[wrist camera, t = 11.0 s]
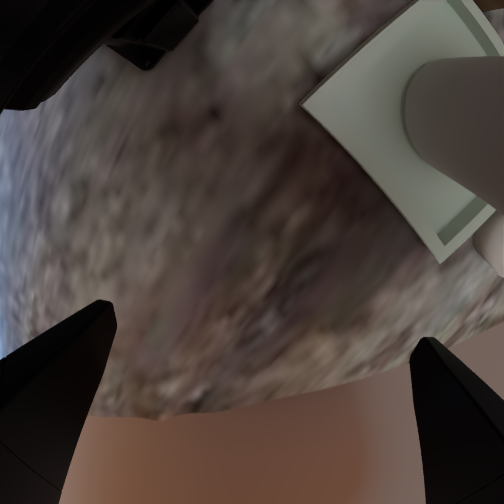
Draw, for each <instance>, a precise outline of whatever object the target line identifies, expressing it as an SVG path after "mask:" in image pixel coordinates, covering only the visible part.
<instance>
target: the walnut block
mask: <svg viewBox="0 0 504 504" xmlns="http://www.w3.org/2000/svg"><path fill="white" fill-rule="evenodd" d="M473 1H474V3H475V4H476V5H477V6H478V8H479V9H480V10H482V11H483V12H485V11H490V10H496V9H501V8H504V0H473Z"/></svg>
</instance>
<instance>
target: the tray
mask: <svg viewBox="0 0 504 504" xmlns="http://www.w3.org/2000/svg"><path fill="white" fill-rule="evenodd" d="M479 56H504V44H503V42H502V41H501V39H500V38H499V36H498V35H497V33H496V32H495V30H494V29H493V27H492V26H491V24H490V23H489V21H488V20H487V19H486V17H485V16H484V14H483V13H482V12H481V10H480V9H479V8H478V6H477V5H476V4H475V3H474V1H473V0H413V1H412V2H410V3H409V4H408V5H407V6H405V7H404V8H403V9H402V10H400V11H399V12H398V13H397V14H396V15H394V16H393V17H392V18H391V19H390V20H388V21H387V22H386V23H385V24H384V25H382V26H381V27H380V28H379V29H378V30H377V31H375V32H374V33H373V34H372V35H371V36H370V37H369V38H367V39H366V40H365V41H364V42H363V43H362V44H361V45H359V46H358V47H357V48H356V49H355V50H354V51H353V52H352V53H351V54H349V55H348V56H347V57H346V58H345V59H344V60H343V61H342V62H341V63H340V64H339V65H338V66H336V67H335V68H334V69H333V70H332V71H331V72H330V73H329V74H328V75H327V76H326V77H325V78H324V79H323V80H322V81H321V82H320V83H318V84H317V85H316V86H315V87H314V88H313V89H312V90H311V91H310V92H309V93H308V94H307V95H306V96H305V97H304V98H303V99H302V100H301V101H300V102H299V103H298V104H299V105H300V106H301V107H302V108H303V109H304V110H305V111H307V112H308V113H309V114H310V115H311V116H312V117H313V118H314V119H315V120H316V121H317V122H318V123H319V124H320V125H321V126H322V127H323V128H324V129H325V130H326V131H327V132H328V133H329V134H330V135H331V136H332V137H333V138H334V139H335V140H336V141H337V142H338V143H339V144H340V145H341V146H342V147H343V148H344V149H345V150H346V151H347V152H348V153H349V154H350V155H351V156H352V158H353V159H354V160H355V161H356V162H357V163H358V164H359V165H360V166H361V167H362V168H363V170H364V171H365V172H366V173H367V174H368V175H369V176H370V177H371V179H372V180H373V181H374V182H375V183H376V184H377V185H378V187H379V188H380V189H381V190H382V191H383V192H384V194H385V195H386V196H387V197H388V198H389V200H390V201H391V202H392V203H393V204H394V206H395V207H396V208H397V209H398V211H399V212H400V213H401V214H402V216H403V217H404V218H405V219H406V221H407V222H408V223H409V225H410V226H411V227H412V228H413V230H414V231H415V232H416V234H417V235H418V236H419V238H420V239H421V240H422V242H423V243H424V244H425V246H426V247H427V248H428V250H429V251H430V252H431V253H432V255H433V256H434V257H435V258H436V260H437V261H438V262H439V263H440V264H441V263H442V262H443V261H444V260H445V259H446V258H448V257H449V256H450V255H451V254H452V253H453V252H454V251H455V250H456V249H457V248H458V247H459V246H461V245H462V244H463V243H464V242H465V241H466V240H467V239H468V238H469V237H470V236H471V235H472V234H473V233H474V232H475V231H476V230H477V229H478V228H479V227H480V226H481V225H482V224H483V223H484V222H485V221H486V220H487V219H488V218H489V217H490V216H491V215H492V214H493V213H494V212H495V211H496V209H495V208H493V207H492V206H490V205H489V204H488V203H486V202H485V201H483V200H482V199H481V198H479V197H478V196H476V195H475V194H473V193H472V192H470V191H469V190H467V189H466V188H464V187H463V186H461V185H460V184H458V183H457V182H455V181H453V180H452V179H450V178H449V177H447V176H445V175H444V174H442V173H441V172H439V171H437V170H436V169H435V168H433V167H432V166H430V165H429V164H427V163H426V162H425V161H424V160H423V158H422V157H421V156H420V155H419V153H418V152H417V151H416V149H415V148H414V146H413V143H412V141H411V138H410V136H409V133H408V131H407V125H406V117H405V104H406V96H407V91H408V88H409V86H410V84H411V82H412V80H413V78H414V76H415V74H416V73H417V72H419V71H420V70H421V69H422V68H423V67H424V66H425V65H426V64H428V63H430V62H433V61H436V60H438V59H444V58H458V57H479Z"/></svg>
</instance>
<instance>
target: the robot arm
mask: <svg viewBox="0 0 504 504" xmlns="http://www.w3.org/2000/svg"><path fill="white" fill-rule="evenodd" d="M212 1H213V0H0V114H1V113H2V111H3V110H4V109H7V110H18V111H24V110H30V109H35V108H37V107H38V105H39V104H40V103H41V102H43V101H45V100H47V99H48V98H50V97H51V96H53V95H54V94H56V92H57V91H58V90H59V89H60V88H61V87H62V85H63V84H64V83H65V82H66V81H67V80H68V79H69V78H70V77H71V75H72V74H73V73H74V72H75V71H76V70H77V69H78V68H79V67H80V66H81V65H82V64H83V63H84V62H85V61H86V60H87V59H88V58H89V57H90V56H91V55H92V54H93V53H94V52H95V51H96V50H97V49H98V48H99V47H100V46H101V45H102V44H105V45H107V46H108V47H110V48H111V49H113V50H114V51H115V52H117V53H118V54H120V55H121V56H123V57H124V58H126V59H127V60H128V61H130V62H131V63H133V64H134V65H136V66H137V67H138V68H140V69H141V70H144V71H149V70H152V69H153V68H154V67H155V65H156V64H157V63H158V62H159V60H160V59H161V58H162V57H163V55H164V54H165V53H166V52H167V51H172V50H173V49H174V48H175V47H176V46H177V44H178V43H179V42H180V41H181V40H182V39H183V38H184V36H185V35H186V34H187V33H188V32H189V31H190V30H191V29H192V28H193V26H194V25H195V24H196V23H197V22H198V15H199V14H200V13H201V12H202V11H203V10H204V9H205V8H206V7H207V6H208V5H209V4H210V3H211V2H212ZM146 60H149V61H150V64H149V65H148V66H147V67H146V66H145V64H144V63H145V61H146ZM116 330H117V321H116V316H115V312H114V307H113V304H112V303H111V302H110V301H106V300H101V299H99V300H96V301H95V302H93V303H91V304H90V305H88V306H86V307H84V308H83V309H81V310H79V311H78V312H76V313H74V314H73V315H71V316H70V317H68V318H66V319H65V320H63V321H61V322H60V323H58V324H56V325H55V326H53V327H52V328H50V329H48V330H47V331H45V332H43V333H42V334H40V335H39V336H37V337H35V338H34V339H32V340H31V341H29V342H27V343H26V344H24V345H23V346H21V347H20V348H18V349H16V350H15V351H13V352H12V353H10V354H9V355H7V356H6V358H5V357H4V358H2V359H1V360H0V504H59V500H60V497H61V493H62V489H63V486H64V482H65V479H66V476H67V473H68V469H69V466H70V463H71V460H72V457H73V454H74V451H75V448H76V445H77V442H78V439H79V436H80V434H81V431H82V428H83V425H84V423H85V420H86V417H87V415H88V412H89V409H90V407H91V404H92V402H93V399H94V396H95V394H96V391H97V389H98V386H99V384H100V381H101V379H102V376H103V373H104V370H105V367H106V363H107V360H108V357H109V353H110V350H111V347H112V343H113V340H114V337H115V334H116ZM409 363H410V372H411V382H412V390H413V391H412V392H413V402H414V410H415V416H416V421H417V428H418V434H419V440H420V448H421V456H422V463H423V473H424V484H425V497H426V504H504V400H503V399H501V397H500V396H499V395H497V393H495V392H494V391H493V390H492V389H491V388H490V387H489V386H488V385H487V384H486V383H485V382H484V381H483V380H482V379H480V378H479V377H478V376H477V375H476V374H475V373H474V372H473V371H472V370H470V368H468V367H467V366H466V365H465V364H464V363H463V362H462V361H461V360H460V359H458V358H457V357H456V356H455V355H454V354H452V352H450V351H449V350H448V349H447V348H446V347H445V346H444V345H443V344H441V343H440V342H439V341H438V340H437V339H436V338H434V337H423V338H421V339H420V341H419V342H418V344H417V346H416V347H415V349H414V351H413V352H412V354H411V356H410V361H409Z"/></svg>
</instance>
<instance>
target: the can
mask: <svg viewBox="0 0 504 504" xmlns="http://www.w3.org/2000/svg"><path fill="white" fill-rule="evenodd" d="M405 117H406V125H407V131H408V133H409V136H410V138H411V141H412V143H413V146H414V148H415V149H416V151H417V152H418V153H419V155H420V156H421V157H422V158H423V160H424V161H425V162H426V163H427V164H429V165H430V166H432V167H433V168H435V169H436V170H437V171H439V172H441V173H442V174H444V175H445V176H447V177H449V178H450V179H452V180H453V181H455V182H457V183H458V184H460V185H461V186H463V187H464V188H466V189H467V190H469V191H470V192H472V193H473V194H475V195H476V196H478V197H479V198H481V199H482V200H483V201H485V202H486V203H488V204H489V205H490V206H492V207H493V208H495V209H496V210H497V211H499V212H500V213H501V214H503V215H504V56H479V57H458V58H444V59H438V60H436V61H433V62H430V63H428V64H426V65H425V66H424V67H423V68H422V69H421V70H420V71H419V72H417V73H416V74H415V76H414V78H413V80H412V82H411V84H410V86H409V88H408V91H407V96H406V104H405Z"/></svg>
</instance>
